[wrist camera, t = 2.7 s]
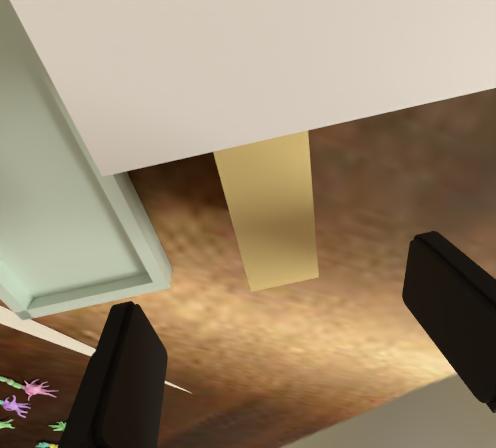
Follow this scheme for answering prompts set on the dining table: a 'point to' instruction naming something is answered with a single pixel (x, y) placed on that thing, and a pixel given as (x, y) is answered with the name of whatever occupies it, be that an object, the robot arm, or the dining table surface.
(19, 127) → the tray
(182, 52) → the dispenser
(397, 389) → the dining table surface
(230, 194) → the pale yellow paper bar
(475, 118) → the dining table surface
